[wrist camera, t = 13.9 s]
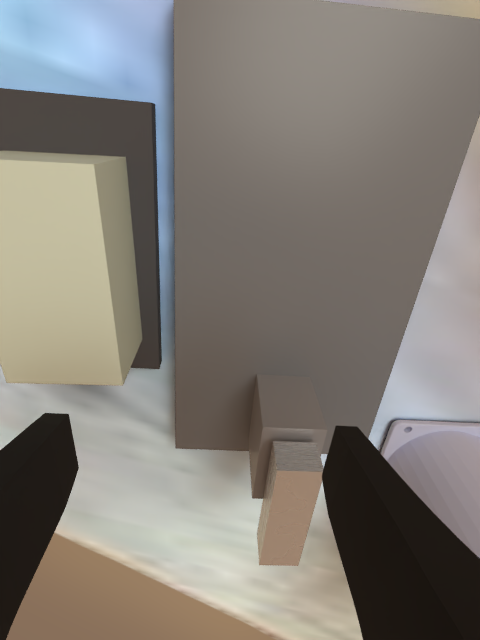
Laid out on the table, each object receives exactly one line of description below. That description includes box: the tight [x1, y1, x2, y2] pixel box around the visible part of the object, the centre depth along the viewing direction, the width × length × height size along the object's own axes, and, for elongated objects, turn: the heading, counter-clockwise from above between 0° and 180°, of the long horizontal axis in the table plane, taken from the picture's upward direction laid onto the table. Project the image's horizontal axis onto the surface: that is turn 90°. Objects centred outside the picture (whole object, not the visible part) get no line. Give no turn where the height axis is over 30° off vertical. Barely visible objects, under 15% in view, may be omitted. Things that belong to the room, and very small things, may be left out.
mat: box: [0, 88, 162, 369], centre depth 17 cm, size 8×13×1 cm, turn 175°
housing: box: [174, 0, 480, 499], centre depth 16 cm, size 12×22×6 cm, turn 175°
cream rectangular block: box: [0, 151, 142, 386], centre depth 15 cm, size 5×9×4 cm, turn 177°
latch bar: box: [257, 441, 323, 566], centre depth 17 cm, size 2×7×2 cm, turn 175°
